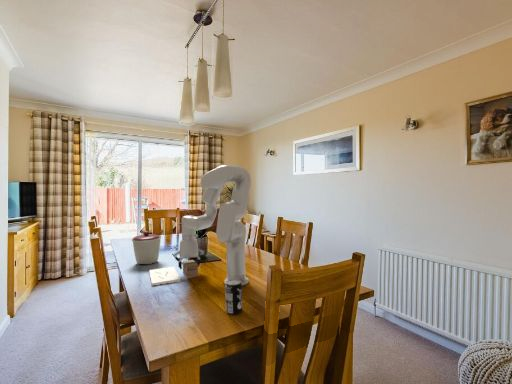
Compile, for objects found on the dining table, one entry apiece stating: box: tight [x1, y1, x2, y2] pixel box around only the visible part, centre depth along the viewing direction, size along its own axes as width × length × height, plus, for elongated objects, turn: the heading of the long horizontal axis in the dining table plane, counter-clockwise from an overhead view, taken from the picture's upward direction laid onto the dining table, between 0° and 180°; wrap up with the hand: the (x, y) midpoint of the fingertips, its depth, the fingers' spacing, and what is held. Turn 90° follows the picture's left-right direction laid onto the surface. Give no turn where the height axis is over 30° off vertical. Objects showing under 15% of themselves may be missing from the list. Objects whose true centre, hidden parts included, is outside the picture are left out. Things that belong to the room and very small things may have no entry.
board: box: [148, 266, 181, 287], centre depth 152 cm, size 24×14×2 cm, turn 24°
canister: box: [131, 230, 162, 265], centre depth 181 cm, size 18×18×21 cm
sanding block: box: [182, 259, 199, 279], centre depth 155 cm, size 10×6×7 cm, turn 28°
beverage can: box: [224, 279, 243, 316], centre depth 108 cm, size 7×7×12 cm
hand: (189, 267), depth 155 cm, fingers open, 9 cm apart
